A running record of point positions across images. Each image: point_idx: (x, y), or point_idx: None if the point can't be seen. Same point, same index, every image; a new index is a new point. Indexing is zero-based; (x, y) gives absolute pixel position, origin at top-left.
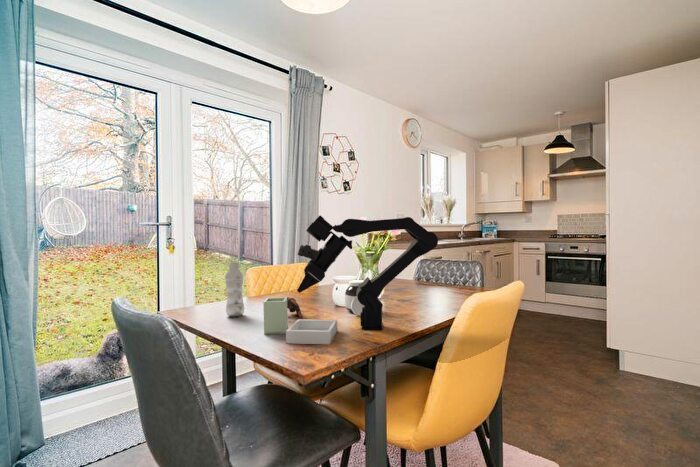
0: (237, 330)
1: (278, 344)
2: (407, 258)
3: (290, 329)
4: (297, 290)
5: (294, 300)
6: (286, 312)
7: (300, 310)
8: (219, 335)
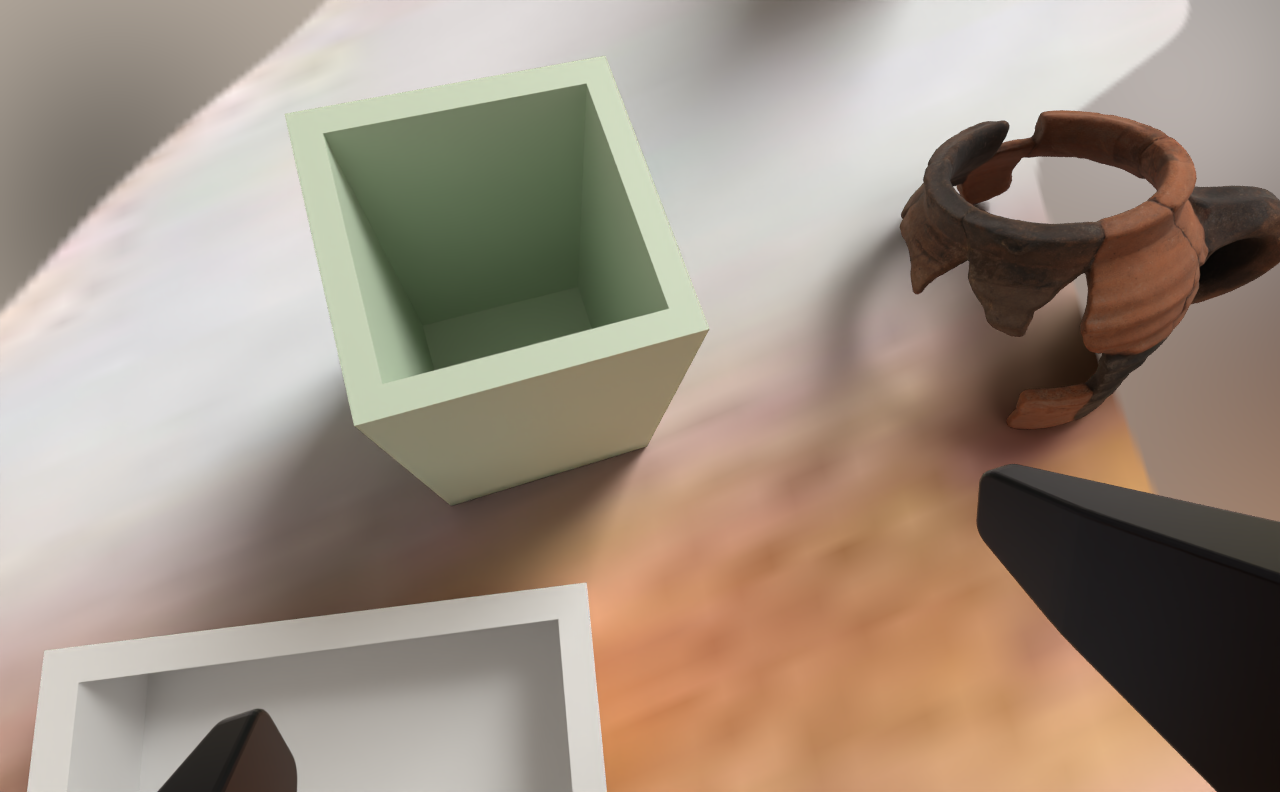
0: (505, 68)
1: (105, 577)
2: None
3: (129, 675)
4: (213, 738)
5: (1267, 250)
6: (562, 428)
7: (1100, 396)
8: (357, 3)
